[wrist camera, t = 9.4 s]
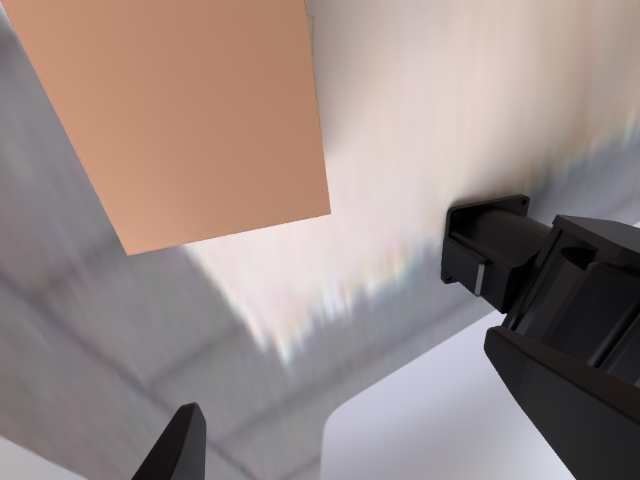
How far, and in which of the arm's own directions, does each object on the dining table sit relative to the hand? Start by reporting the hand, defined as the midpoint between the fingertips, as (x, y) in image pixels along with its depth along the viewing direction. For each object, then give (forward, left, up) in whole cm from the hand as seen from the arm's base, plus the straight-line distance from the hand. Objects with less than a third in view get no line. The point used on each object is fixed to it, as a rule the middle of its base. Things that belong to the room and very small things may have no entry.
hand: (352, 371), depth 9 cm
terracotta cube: (+3, -7, -8) cm, 11 cm away
